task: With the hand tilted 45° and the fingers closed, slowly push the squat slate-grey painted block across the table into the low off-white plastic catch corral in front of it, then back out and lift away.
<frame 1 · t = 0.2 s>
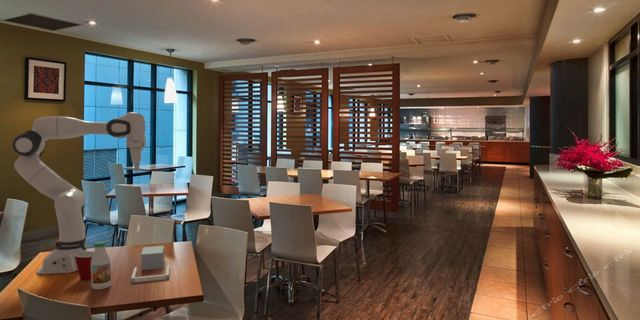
hand: (136, 170, 230), 48 cm above the table, tool pointing down, fingers open, 8 cm apart
plastic cup: (87, 278, 208), on the table
milk bottle: (101, 287, 196), on the table
candy bar box: (75, 252, 251), on the table
slate block: (153, 265, 227), on the table
catch corral: (151, 274, 212), on the table
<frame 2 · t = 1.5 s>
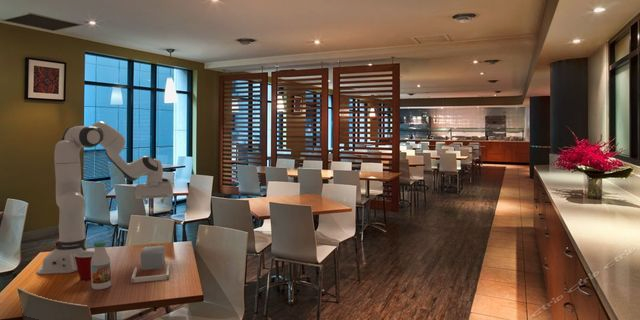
hand: (154, 203, 249), 28 cm above the table, tool tilted 45°, fingers open, 7 cm apart
nothing on the table moved.
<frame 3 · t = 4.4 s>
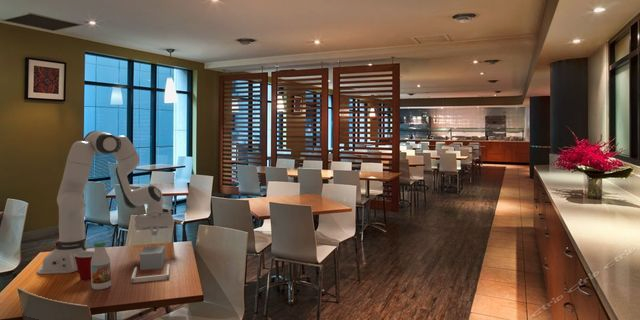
hand: (154, 234, 245), 11 cm above the table, tool tilted 45°, fingers closed
nothing on the table moved.
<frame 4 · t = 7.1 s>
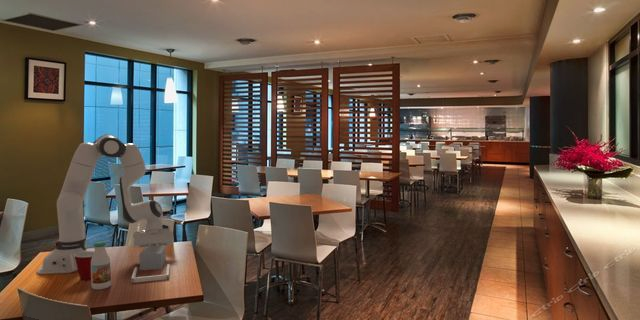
hand: (153, 252, 234), 4 cm above the table, tool tilted 45°, fingers closed
slate block: (153, 265, 227), on the table, touching gripper
everything else where it was.
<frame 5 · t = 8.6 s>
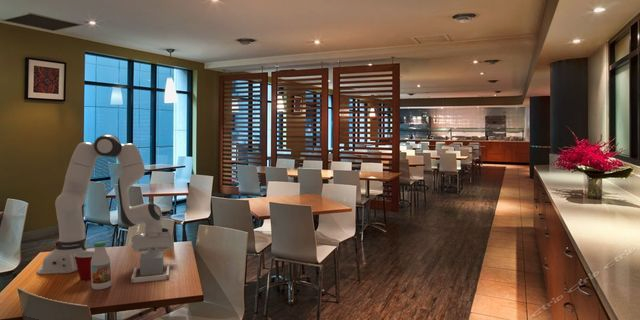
hand: (153, 257, 226), 4 cm above the table, tool tilted 45°, fingers closed
slate block: (152, 270, 219), on the table
everything else where it was.
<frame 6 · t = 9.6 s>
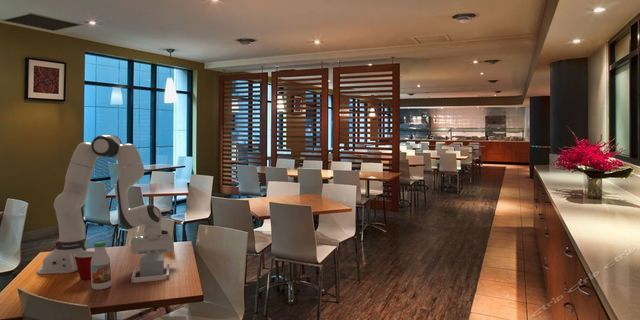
hand: (152, 259, 221), 4 cm above the table, tool tilted 45°, fingers closed
slate block: (152, 273, 214), on the table, touching gripper
everything else where it was.
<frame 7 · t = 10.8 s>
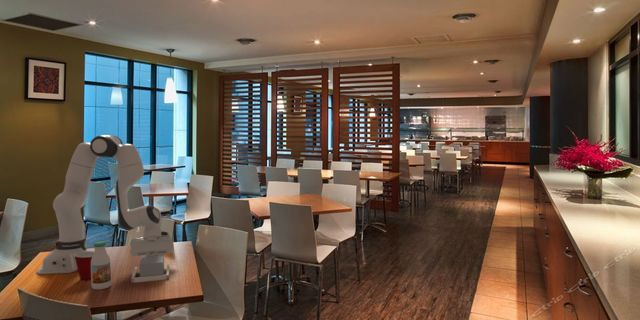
hand: (152, 261, 219), 4 cm above the table, tool tilted 45°, fingers closed
slate block: (152, 275, 212), on the table
everything else where it was.
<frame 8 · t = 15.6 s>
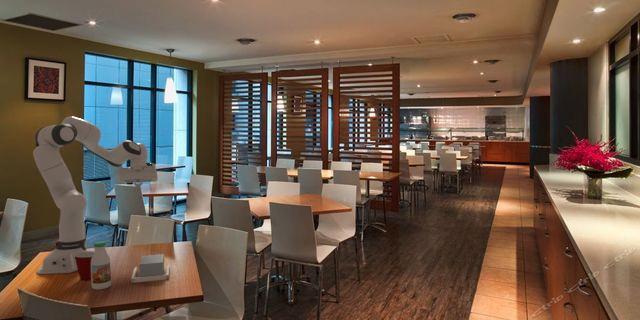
hand: (137, 187, 243), 37 cm above the table, tool tilted 45°, fingers closed
nothing on the table moved.
at the end: slate block inside the target area (0.8 cm from its centre), on the table; slate block tilted 0°; slate block moved 16.6 cm from its start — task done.
